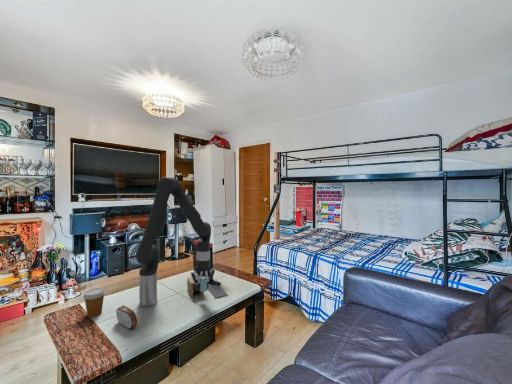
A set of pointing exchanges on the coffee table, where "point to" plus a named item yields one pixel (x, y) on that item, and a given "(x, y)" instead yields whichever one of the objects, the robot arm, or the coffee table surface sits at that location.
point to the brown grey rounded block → (126, 317)
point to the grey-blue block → (202, 283)
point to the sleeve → (192, 287)
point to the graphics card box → (196, 253)
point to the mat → (217, 291)
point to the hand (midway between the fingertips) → (202, 288)
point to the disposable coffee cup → (94, 301)
